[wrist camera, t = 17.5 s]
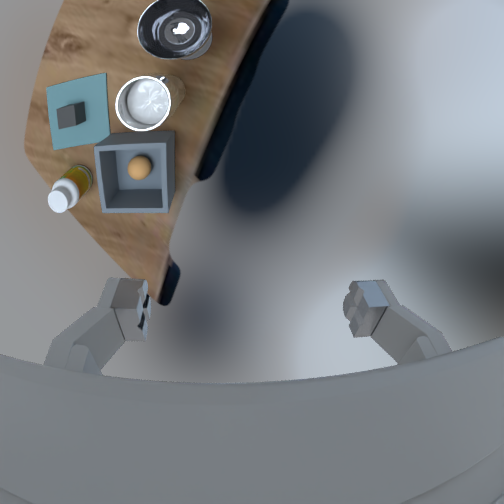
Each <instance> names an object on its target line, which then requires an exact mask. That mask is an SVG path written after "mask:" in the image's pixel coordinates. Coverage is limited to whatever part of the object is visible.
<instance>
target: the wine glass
mask: <svg viewBox="0 0 504 504" xmlns="http://www.w3.org/2000/svg"><path fill="white" fill-rule="evenodd" d="M211 31H212V18H211V15H210V12H209V10H208V9H207V7H206V6H205V5H204V4H203V3H202V2H201V1H200V0H157V1H156V2H154V3H153V4H151V5H150V6H149V7H148V8H147V9H146V10H145V11H144V13H143V14H142V16H141V18H140V20H139V24H138V30H137V33H138V39H139V41H140V44H141V45H142V47H143V48H144V49H145V50H146V51H147V52H148V53H150V54H151V55H153V56H156V57H158V58H162V59H170V60H172V59H183V60H191V59H195V58H198V57H200V56H202V55H203V54H204V53H205V52H206V51H207V50H208V49H209V47H210V45H211V43H212V32H211Z"/></svg>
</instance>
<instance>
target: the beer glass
mask: <svg viewBox="0 0 504 504" xmlns="http://www.w3.org/2000/svg"><path fill="white" fill-rule="evenodd" d="M184 97H185V86H184V84H183V82H182V81H181V80H180V79H179V78H178V77H176V76H174V75H169V74H167V75H164V74H159V73H149V74H144V75H141V76H138V77H136V78H133V79H131V80H129V81H128V82H127V83H125V84H124V85H123V86H122V88H121V89H120V91H119V92H118V95H117V97H116V102H115V109H116V114H117V116H118V118H119V120H120V121H121V123H122V124H123V125H124V126H126V127H127V128H129V129H131V130H134V131H139V132H144V131H149V130H152V129H154V128H156V127H158V126H159V125H161V124H163V123H164V122H166V121H167V120H168V119H169V118H170V117H171V116H172V115H173V114H174V112H175V111H176V109H177V107H178V106H179V105H180V104H181V103H182V101H183V99H184Z"/></svg>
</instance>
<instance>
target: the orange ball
mask: <svg viewBox="0 0 504 504" xmlns="http://www.w3.org/2000/svg"><path fill="white" fill-rule="evenodd" d="M127 170H128V174H129V175H130V176H131V177H132V178H133V179H135V180H142V179H145V178H146V177H147V176H148V175H149V174H150V172H151V163H150V161H149V159H148V158H146V157H144V156H136V157H134V158H132V159H131V160H130V162H129V163H128V167H127Z"/></svg>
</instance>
